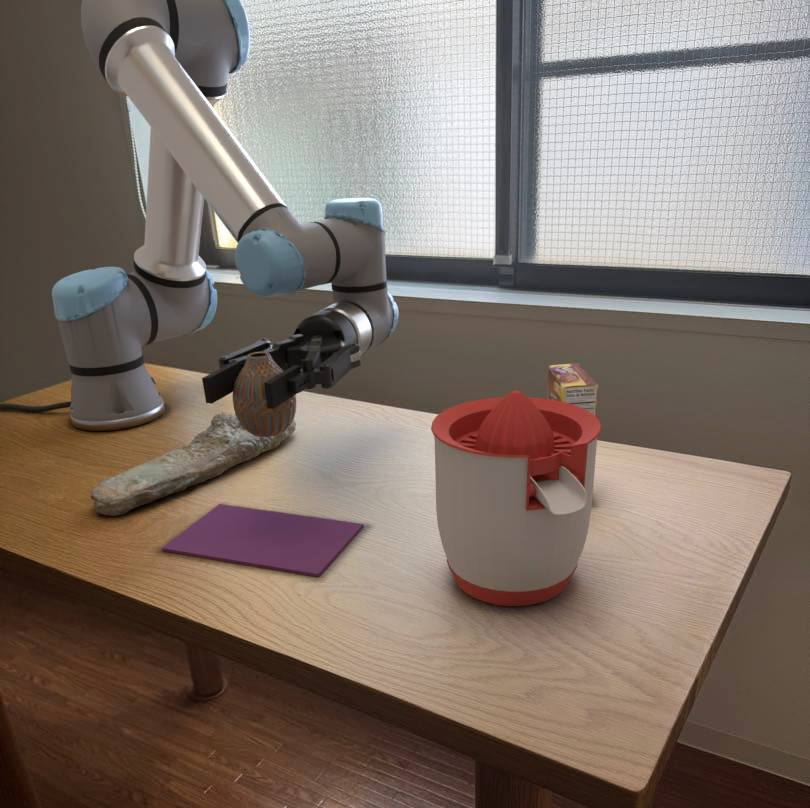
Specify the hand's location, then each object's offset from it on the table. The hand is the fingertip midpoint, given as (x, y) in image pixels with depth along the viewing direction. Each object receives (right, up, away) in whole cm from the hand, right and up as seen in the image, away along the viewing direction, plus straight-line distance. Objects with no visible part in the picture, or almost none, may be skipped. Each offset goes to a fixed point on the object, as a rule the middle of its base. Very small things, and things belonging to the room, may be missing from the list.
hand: (237, 393), depth 80 cm
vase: (+2, -3, +7) cm, 8 cm away
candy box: (+38, -9, +17) cm, 43 cm away
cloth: (+1, -15, +10) cm, 18 cm away
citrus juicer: (+29, -20, -1) cm, 35 cm away
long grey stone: (-11, -5, +29) cm, 31 cm away
